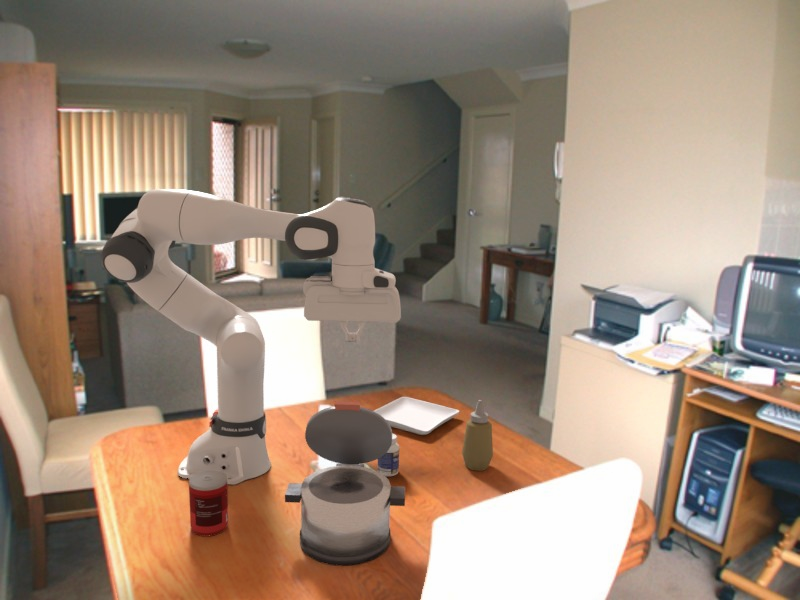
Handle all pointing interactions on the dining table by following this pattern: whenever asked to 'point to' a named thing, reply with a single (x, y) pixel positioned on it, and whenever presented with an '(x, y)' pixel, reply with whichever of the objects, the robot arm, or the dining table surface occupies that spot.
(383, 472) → the pill bottle
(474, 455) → the squeeze bottle
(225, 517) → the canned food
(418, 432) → the salad plate
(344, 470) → the cooker pot
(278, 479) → the dining table surface
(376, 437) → the cooker lid
